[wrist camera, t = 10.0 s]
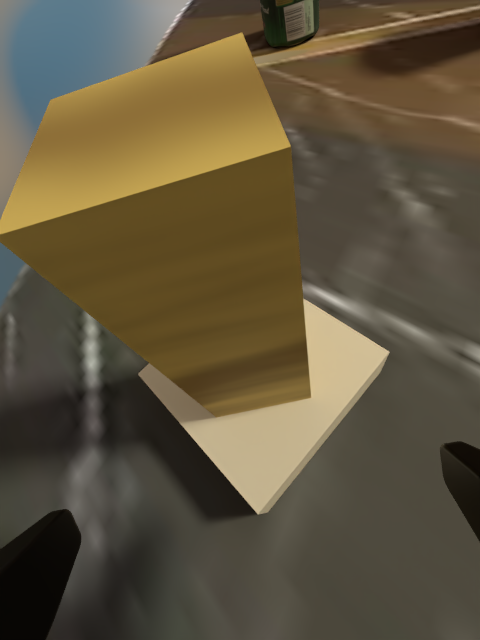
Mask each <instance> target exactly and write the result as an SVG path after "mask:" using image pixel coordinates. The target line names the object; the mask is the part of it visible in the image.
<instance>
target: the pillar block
mask: <svg viewBox="0 0 480 640" xmlns="http://www.w3.org/2000/svg"><path fill="white" fill-rule="evenodd" d="M0 242H1V243H2V244H3V245H5V246H6V247H7V248H8V249H9V250H11V251H12V252H13V253H14V254H16V255H17V256H18V257H19V258H20V259H22V260H23V261H24V262H25V263H27V264H28V265H29V266H30V267H32V268H33V269H34V270H35V271H36V272H38V273H39V274H40V275H41V276H43V277H44V278H45V279H46V280H48V281H49V282H50V283H51V284H52V285H54V286H55V287H56V288H57V289H59V290H60V291H61V292H62V293H64V294H65V295H66V296H67V297H68V298H70V299H71V300H72V301H73V302H75V303H76V304H77V305H78V306H80V307H81V308H82V309H83V310H84V311H86V312H87V313H88V314H89V315H91V316H92V317H93V318H94V319H96V320H97V321H98V322H99V323H101V324H102V325H103V326H104V327H105V328H107V329H108V330H109V331H110V332H112V333H113V334H114V335H115V336H117V337H118V338H119V339H120V340H121V341H123V342H124V343H125V344H126V345H128V346H129V347H130V348H131V349H133V350H134V351H135V352H136V353H137V354H139V355H140V356H141V357H142V358H144V359H145V360H146V361H147V362H149V363H150V364H151V365H152V366H153V367H155V368H156V369H157V370H158V371H160V372H161V373H162V374H163V375H165V376H166V377H167V378H168V379H169V380H171V381H172V382H173V383H174V384H176V385H177V386H178V387H179V388H181V389H182V390H183V391H184V392H186V393H187V394H188V395H189V396H190V397H192V398H193V399H194V400H195V401H197V402H198V403H199V404H200V405H202V406H203V407H204V408H205V409H206V410H208V411H209V412H210V413H211V414H213V415H214V416H215V417H221V416H226V415H231V414H236V413H240V412H245V411H250V410H255V409H260V408H265V407H269V406H274V405H279V404H284V403H289V402H294V401H299V400H303V399H308V398H311V388H310V376H309V364H308V352H307V339H306V327H305V315H304V302H303V290H302V278H301V266H300V253H299V241H298V229H297V216H296V204H295V192H294V179H293V167H292V155H291V146H290V143H289V141H288V139H287V136H286V134H285V132H284V129H283V127H282V125H281V122H280V120H279V118H278V115H277V113H276V111H275V108H274V106H273V104H272V101H271V99H270V97H269V94H268V92H267V90H266V87H265V85H264V83H263V80H262V78H261V76H260V73H259V71H258V69H257V66H256V64H255V62H254V59H253V57H252V55H251V52H250V50H249V48H248V45H247V43H246V41H245V38H244V36H243V34H242V33H239V34H236V35H234V36H231V37H228V38H225V39H222V40H219V41H217V42H214V43H211V44H208V45H205V46H202V47H199V48H197V49H194V50H191V51H188V52H185V53H182V54H180V55H177V56H174V57H171V58H168V59H165V60H163V61H160V62H157V63H154V64H151V65H148V66H145V67H143V68H140V69H137V70H134V71H131V72H128V73H126V74H123V75H120V76H117V77H114V78H111V79H109V80H106V81H103V82H100V83H97V84H95V85H91V86H89V87H86V88H83V89H80V90H77V91H75V92H72V93H69V94H66V95H63V96H60V97H58V98H54V99H52V100H50V103H49V105H48V107H47V110H46V112H45V115H44V117H43V119H42V122H41V124H40V126H39V129H38V131H37V134H36V136H35V138H34V141H33V143H32V146H31V148H30V150H29V153H28V155H27V157H26V160H25V162H24V165H23V167H22V169H21V172H20V174H19V177H18V179H17V181H16V184H15V186H14V188H13V191H12V194H11V196H10V198H9V200H8V203H7V205H6V208H5V210H4V213H3V215H2V217H1V220H0Z"/></svg>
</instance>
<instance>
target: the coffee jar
mask: <svg viewBox="0 0 480 640" xmlns="http://www.w3.org/2000/svg"><path fill="white" fill-rule="evenodd" d="M260 4H261V12H262V19H263V26H264V34H265V38H266V40H267V42H268V43H269V45H270V46H272V47H277V46H287V47H288V46H293V45H296V44H299V43H302V42H303V41H304V40H306V39H307V38H309V37H311V36H313V35H315V34H316V32H317V31H318V28H319V0H260Z"/></svg>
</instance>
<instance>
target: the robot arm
mask: <svg viewBox="0 0 480 640" xmlns="http://www.w3.org/2000/svg"><path fill="white" fill-rule="evenodd" d="M440 455H441V463H442V471H443V477H444V480H445V483H446V485H447V487H448V489H449V491H450V492H451V494H452V496H453V498H454V499H455V501H456V503H457V504H458V506H459V508H460V509H461V511H462V513H463V514H464V516H465V518H466V519H467V521H468V523H469V524H470V526H471V528H472V530H473V531H474V533H475V535H476V536H477V538H478V540H479V541H480V449H478V448H476V447H473V446H471V445H469V444H467V443H464V442H461V441H457V442H451V443H445V444H442V445H441V447H440ZM80 545H81V533H80V531H79V529H78V526H77V524H76V522H75V520H74V518H73V515H72V513H71V512H70V511H69V510H67V509H63V510H57V511H52V512H50V513H49V514H47V515H46V516H44V517H43V518H42V519H40V520H39V521H38V522H36V523H35V524H34V525H32V526H31V527H30V528H28V529H27V530H26V531H24V532H23V533H22V534H20V535H19V536H18V537H16V538H15V539H14V540H12V541H11V542H9V543H8V544H7V545H5V546H4V547H3V548H1V549H0V640H46V638H47V635H48V633H49V631H50V628H51V626H52V623H53V621H54V618H55V615H56V613H57V610H58V607H59V605H60V602H61V599H62V596H63V593H64V590H65V588H66V585H67V582H68V579H69V576H70V573H71V571H72V568H73V565H74V562H75V559H76V556H77V554H78V551H79V548H80Z"/></svg>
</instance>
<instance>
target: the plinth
mask: <svg viewBox="0 0 480 640" xmlns="http://www.w3.org/2000/svg"><path fill="white" fill-rule="evenodd" d="M303 302H304V315H305V327H306V339H307V352H308V364H309V376H310V388H311V398H308V399H303V400H299V401H294V402H289V403H284V404H279V405H274V406H269V407H265V408H260V409H255V410H250V411H245V412H240V413H236V414H231V415H226V416H221V417H215V416H214V415H213V414H211V413H210V412H209V411H208V410H206V409H205V408H204V407H203V406H202V405H200V404H199V403H198V402H197V401H195V400H194V399H193V398H192V397H190V396H189V395H188V394H187V393H186V392H184V391H183V390H182V389H181V388H179V387H178V386H177V385H176V384H174V383H173V382H172V381H171V380H169V379H168V378H167V377H166V376H165V375H163V374H162V373H161V372H160V371H158V370H157V369H156V368H155V367H153V366H152V365H151V364H150V363H149V364H148V365H147V366H146V367H145V368H144V369H143V370H142V371H141V372H140V373H138V375H139V376H140V377H141V378H142V380H143V381H144V382H145V383H146V384H147V385H148V387H149V388H150V389H151V390H152V391H153V392H154V394H155V395H156V396H157V397H158V398H159V399H160V401H161V402H162V403H163V404H164V405H165V406H166V408H167V409H168V410H169V411H170V412H171V413H172V415H173V416H174V417H175V418H176V419H177V420H178V422H179V423H180V424H181V425H182V426H183V427H184V429H185V430H186V431H187V432H188V433H189V434H190V436H191V437H192V438H193V439H194V440H195V442H196V443H197V444H198V445H199V446H200V447H201V449H202V450H203V451H204V452H205V453H206V454H207V456H208V457H209V458H210V459H211V460H212V461H213V463H214V464H215V465H216V466H217V467H218V468H219V470H220V471H221V472H222V473H223V474H224V475H225V477H226V478H227V479H228V480H229V481H230V482H231V484H232V485H233V486H234V487H235V488H236V489H237V491H238V492H239V493H240V494H241V495H242V496H243V498H244V499H245V500H246V501H247V502H248V503H249V505H250V506H251V507H252V508H253V509H254V510H255V512H256V513H257V514H263V513H267V512H268V511H269V510H270V509H271V508H272V506H273V505H274V504H275V503H276V501H277V500H278V499H279V498H280V497H281V495H282V494H283V493H284V492H285V490H286V489H287V488H288V487H289V485H290V484H291V483H292V482H293V480H294V479H295V478H296V477H297V475H298V474H299V473H300V472H301V470H302V469H303V468H304V467H305V465H306V464H307V463H308V462H309V460H310V459H311V458H312V457H313V455H314V454H315V453H316V452H317V450H318V449H319V448H320V447H321V445H322V444H323V443H324V442H325V440H326V439H327V438H328V437H329V435H330V434H331V433H332V432H333V430H334V429H335V428H336V427H337V425H338V424H339V423H340V422H341V421H342V419H343V418H344V417H345V416H346V414H347V413H348V412H349V411H350V409H351V408H352V407H353V406H354V404H355V403H356V402H357V401H358V399H359V398H360V397H361V396H362V394H363V393H364V392H365V391H366V389H367V388H368V387H369V386H370V384H371V383H372V382H373V381H374V379H375V378H376V377H377V376H378V374H379V373H380V371H381V369H382V367H383V365H384V363H385V361H386V359H387V356H388V354H389V351H387V350H385V349H384V348H382V347H381V346H379V345H377V344H376V343H374V342H373V341H371V340H369V339H368V338H366V337H365V336H363V335H361V334H360V333H358V332H357V331H355V330H353V329H352V328H350V327H348V326H347V325H345V324H344V323H342V322H340V321H339V320H337V319H336V318H334V317H332V316H331V315H329V314H328V313H326V312H324V311H323V310H321V309H320V308H318V307H316V306H315V305H313V304H311V303H310V302H308V301H307V300H305V299H303Z"/></svg>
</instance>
